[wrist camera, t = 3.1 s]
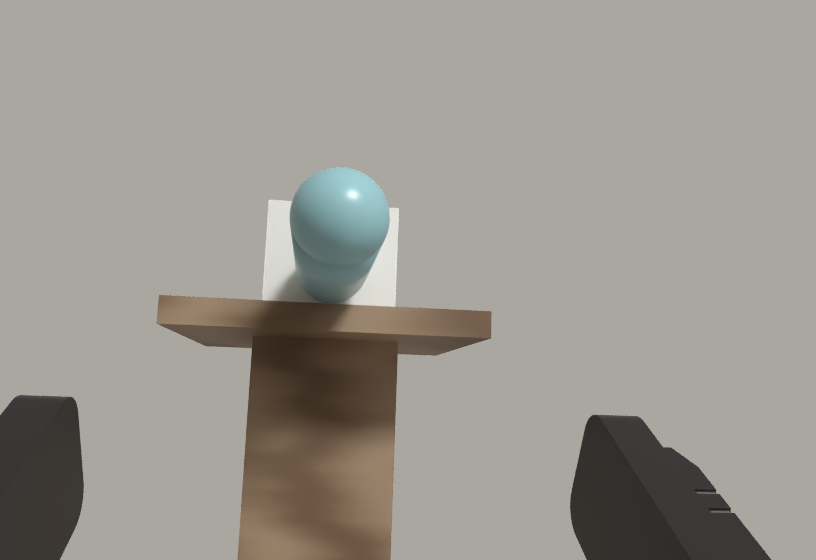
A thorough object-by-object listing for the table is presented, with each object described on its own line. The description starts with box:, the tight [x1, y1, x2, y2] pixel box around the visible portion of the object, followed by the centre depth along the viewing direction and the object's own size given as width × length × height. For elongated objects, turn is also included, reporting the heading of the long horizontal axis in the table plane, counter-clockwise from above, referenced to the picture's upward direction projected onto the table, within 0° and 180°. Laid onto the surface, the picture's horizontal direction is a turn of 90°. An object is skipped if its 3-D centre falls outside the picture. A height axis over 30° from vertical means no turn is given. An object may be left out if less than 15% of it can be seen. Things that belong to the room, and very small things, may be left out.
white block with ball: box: [262, 167, 399, 307], centre depth 29 cm, size 5×23×4 cm, turn 8°
